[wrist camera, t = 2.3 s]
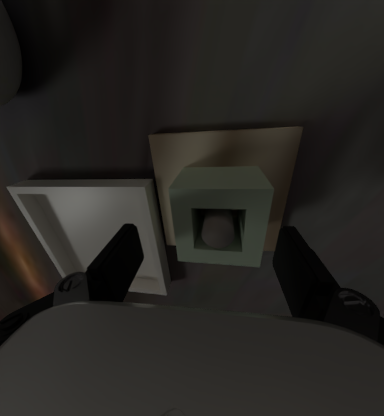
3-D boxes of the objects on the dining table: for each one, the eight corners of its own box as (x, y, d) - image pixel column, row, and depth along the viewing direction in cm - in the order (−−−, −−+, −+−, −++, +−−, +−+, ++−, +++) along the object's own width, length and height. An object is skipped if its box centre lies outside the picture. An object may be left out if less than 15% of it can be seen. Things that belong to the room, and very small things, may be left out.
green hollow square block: (258, 166, 14) (274, 189, 10) (250, 228, 17) (259, 267, 13) (183, 167, 15) (168, 188, 11) (188, 226, 18) (178, 261, 14)
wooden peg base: (298, 126, 13) (353, 135, 8) (272, 245, 19) (293, 300, 13) (152, 134, 15) (111, 145, 10) (169, 239, 21) (149, 285, 15)
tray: (153, 178, 17) (144, 187, 15) (171, 281, 25) (166, 295, 23) (26, 179, 20) (6, 186, 18) (77, 272, 27) (66, 284, 25)
